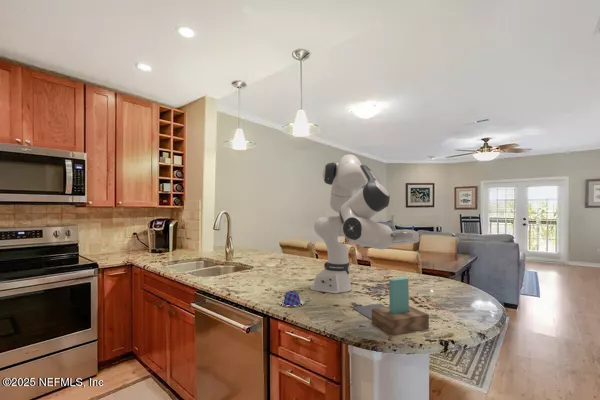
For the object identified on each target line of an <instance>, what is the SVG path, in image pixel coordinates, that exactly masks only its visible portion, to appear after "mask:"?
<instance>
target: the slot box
mask: <svg viewBox="0 0 600 400" xmlns="http://www.w3.org/2000/svg"><path fill="white" fill-rule="evenodd" d="M429 320H430V317H429V314H428V313H426V312H425V311H422V310H420V309H418V308H417V307H416V308H415V307H413V306H412V305H409V312H405V313H399V314H391V313H390V305H389V306H386V307H382V308H375V309H372V320H371V323H372V324H374V326H377V327H379V328H380V329H381V330H383V331H384V332H386V333H388V334H389V335H391V336H396V335H401V334H405V333H406V334H407V333H412V332H417V331H422V330H427V329H430V321H429Z"/></svg>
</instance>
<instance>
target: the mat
mask: <svg viewBox="0 0 600 400" xmlns="http://www.w3.org/2000/svg"><path fill="white" fill-rule="evenodd" d="M382 307H387V306H386V305H383V304H381V303H376V304H369V305H361V306H355V307H354V306H353V307H352V309H353V310H354V311H356V312H358V313H359V314H360V315H362V316H363V317H366V318H367V319H369V320H371V321H372V309H375V308H382Z"/></svg>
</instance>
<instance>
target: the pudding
mask: <svg viewBox="0 0 600 400" xmlns="http://www.w3.org/2000/svg"><path fill="white" fill-rule="evenodd" d="M282 300H284V302H283V303H284V304H285V305H290V306H294V305H300V304H301V302H300V301H302V302H303V303H302V305H300V306H301V307H302V306H303V305H305V304H306V303H305V302H306V301H305V300H304V299H301V298H300V295H299V292H298V291H295V290H289V291H286V292H285V294H284V298H283V299H282ZM280 301H281V300H279V302H278V304H279V305H280V306H282V307H284V306H283V305H284V304H283V305H281V304H280ZM300 306H299V307H300ZM285 307H287V308H289V307H288V306H285ZM297 307H298V306H295V308H297Z"/></svg>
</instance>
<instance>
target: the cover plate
mask: <svg viewBox="0 0 600 400" xmlns="http://www.w3.org/2000/svg"><path fill="white" fill-rule="evenodd" d="M388 281H389V282H388V287H389V290H388V291H389V293H388V294H389V298H388V299H389V306H390V313H391V314H399V313H405V312H409V306H410V305H409V304H410V301H409V295H410V294H409V292H410V291H409V278H407V277H400V278H399V277H397V278H389V279H388Z"/></svg>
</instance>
